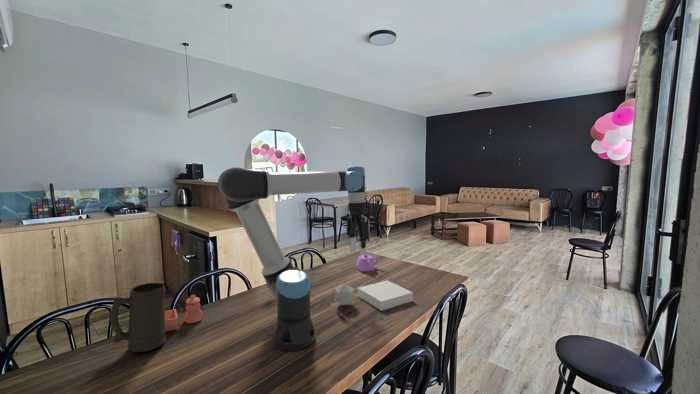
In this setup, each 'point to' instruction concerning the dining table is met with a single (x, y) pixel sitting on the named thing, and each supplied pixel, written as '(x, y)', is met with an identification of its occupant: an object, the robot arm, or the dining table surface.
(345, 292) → the die
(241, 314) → the dining table surface
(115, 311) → the beer stein
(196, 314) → the pottery
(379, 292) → the plinth
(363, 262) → the teapot
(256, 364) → the dining table surface
